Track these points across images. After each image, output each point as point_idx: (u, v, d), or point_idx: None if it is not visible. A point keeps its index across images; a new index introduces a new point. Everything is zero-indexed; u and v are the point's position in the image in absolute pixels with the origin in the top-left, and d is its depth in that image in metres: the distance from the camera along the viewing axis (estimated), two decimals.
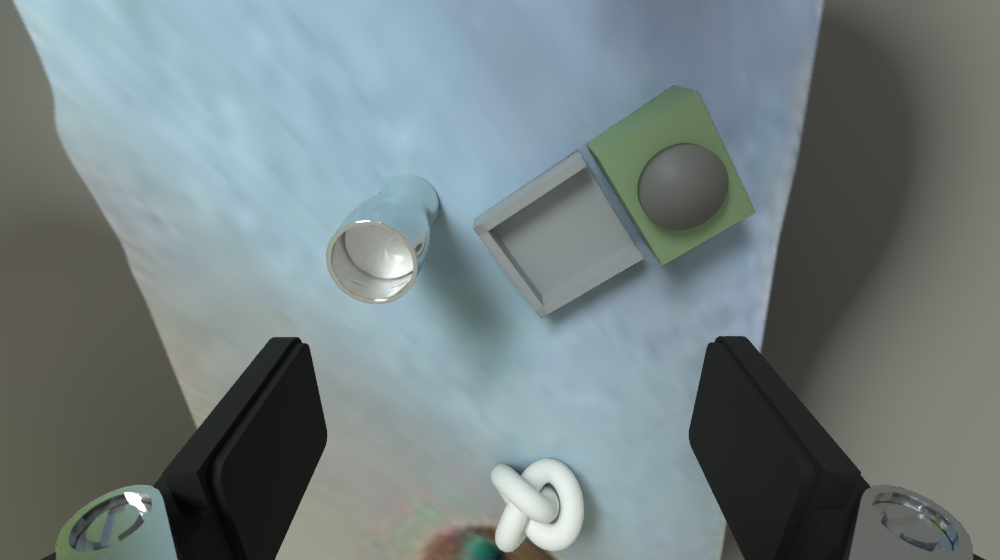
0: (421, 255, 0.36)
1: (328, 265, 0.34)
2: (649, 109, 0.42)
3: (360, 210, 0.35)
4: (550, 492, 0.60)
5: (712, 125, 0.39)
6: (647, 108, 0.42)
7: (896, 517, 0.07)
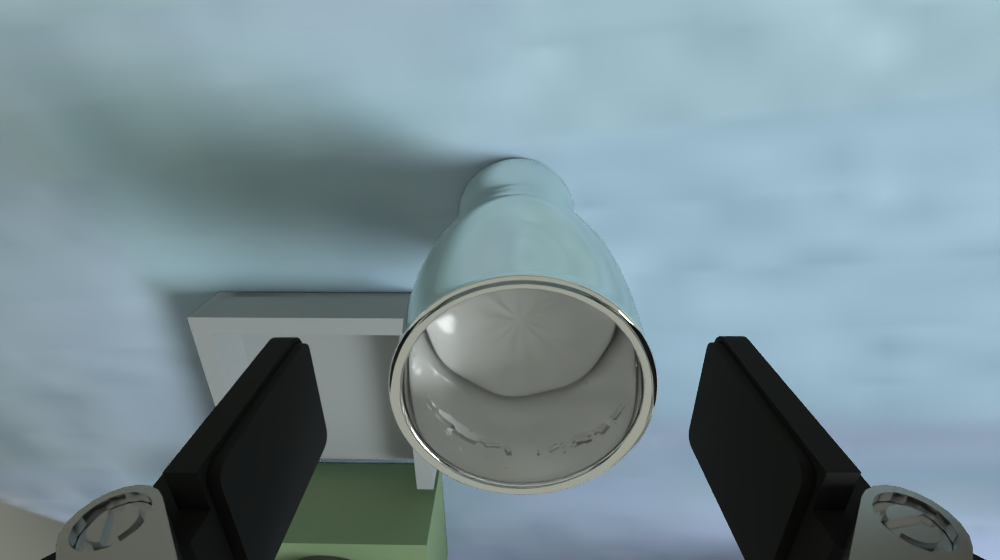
0: None
1: (601, 302, 0.10)
2: (440, 555, 0.33)
3: None
4: None
5: None
6: (442, 546, 0.34)
7: (896, 517, 0.07)
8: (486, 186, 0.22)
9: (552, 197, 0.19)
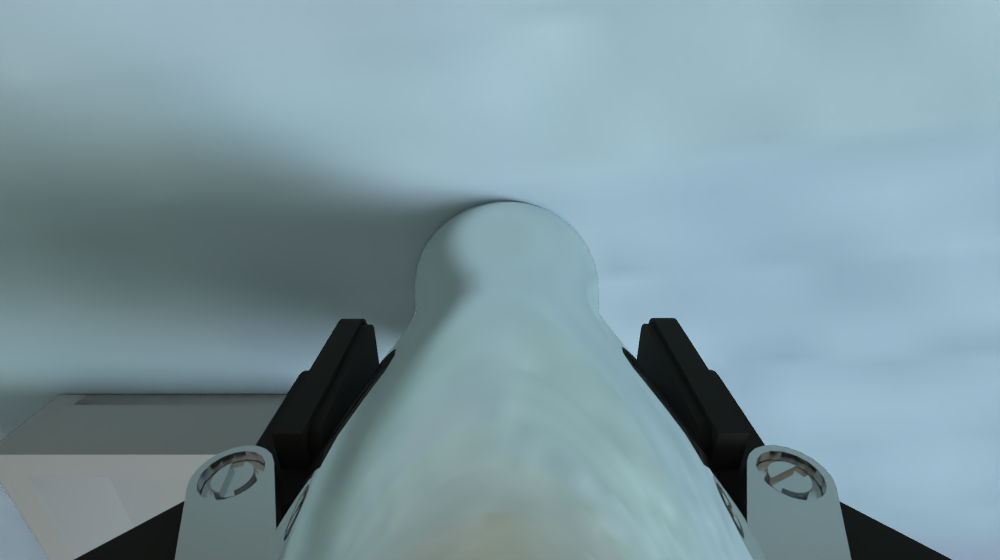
0: None
1: None
2: None
3: None
4: None
5: None
6: None
7: (775, 474, 0.07)
8: (453, 258, 0.13)
9: (573, 298, 0.10)
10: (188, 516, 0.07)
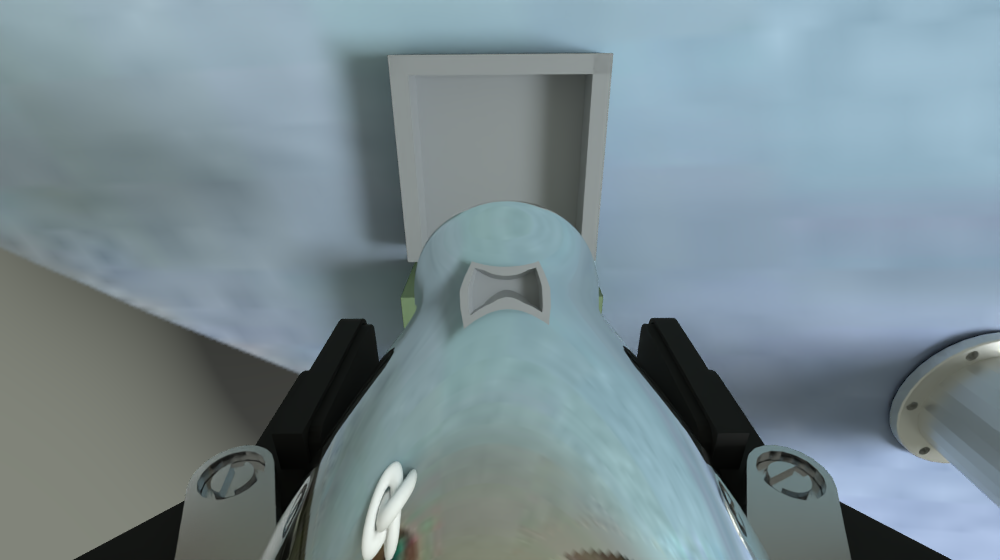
0: None
1: None
2: None
3: None
4: None
5: None
6: None
7: (775, 474, 0.07)
8: (453, 256, 0.13)
9: (572, 296, 0.10)
10: (188, 516, 0.07)
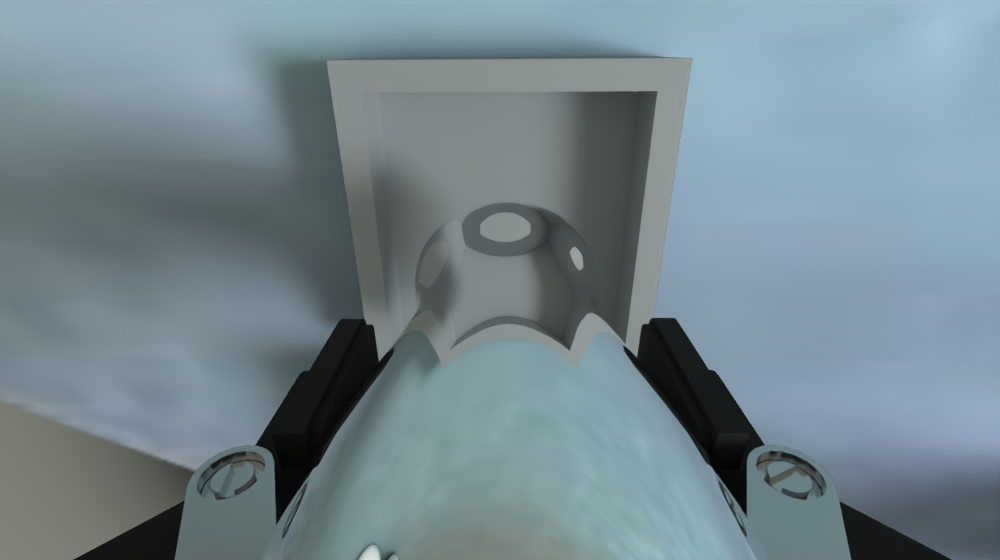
0: None
1: None
2: None
3: None
4: None
5: None
6: None
7: (775, 474, 0.07)
8: (453, 256, 0.13)
9: (572, 296, 0.10)
10: (188, 516, 0.07)
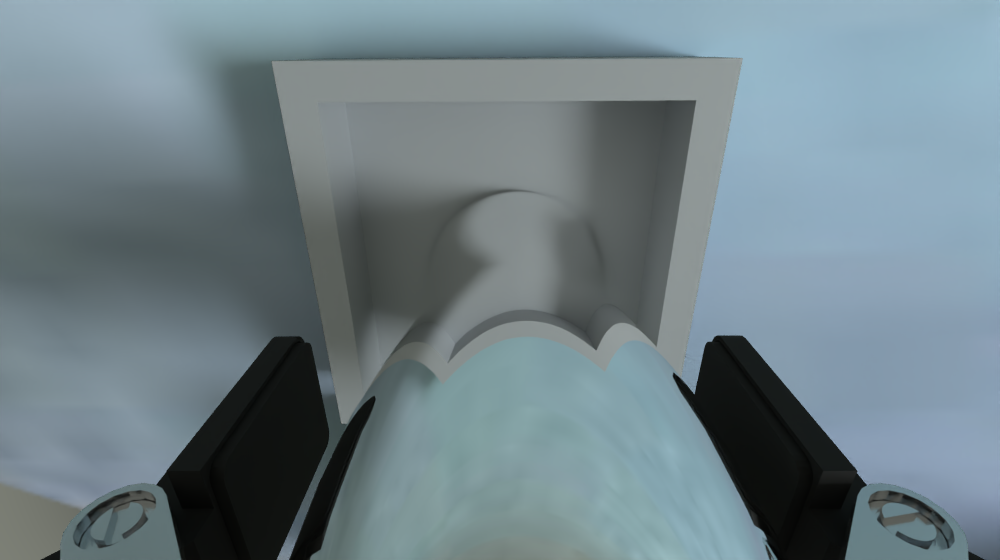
0: None
1: None
2: None
3: None
4: None
5: None
6: None
7: (891, 515, 0.07)
8: (469, 241, 0.14)
9: (579, 273, 0.11)
10: None
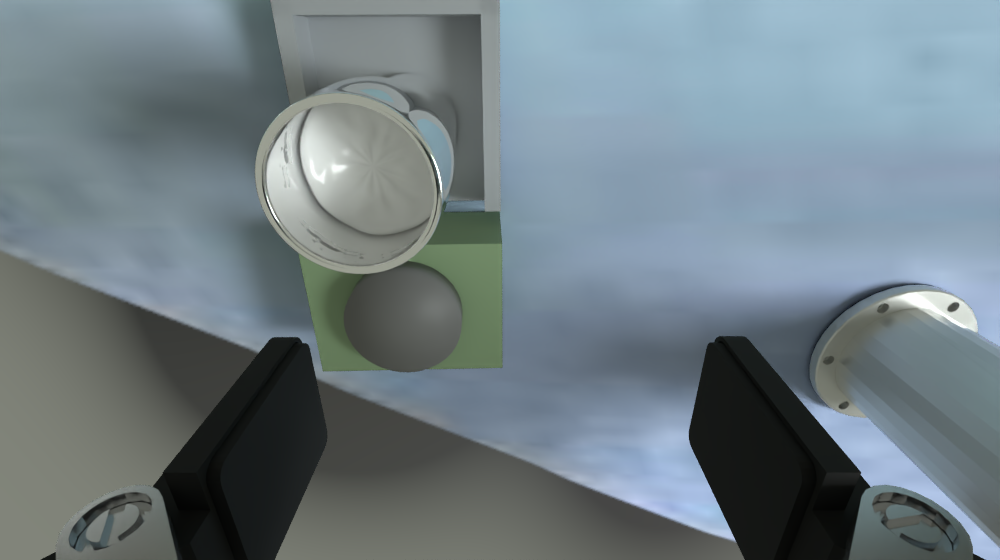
0: None
1: (390, 112, 0.16)
2: None
3: (448, 197, 0.20)
4: None
5: (456, 367, 0.32)
6: None
7: (896, 517, 0.07)
8: None
9: None
10: None
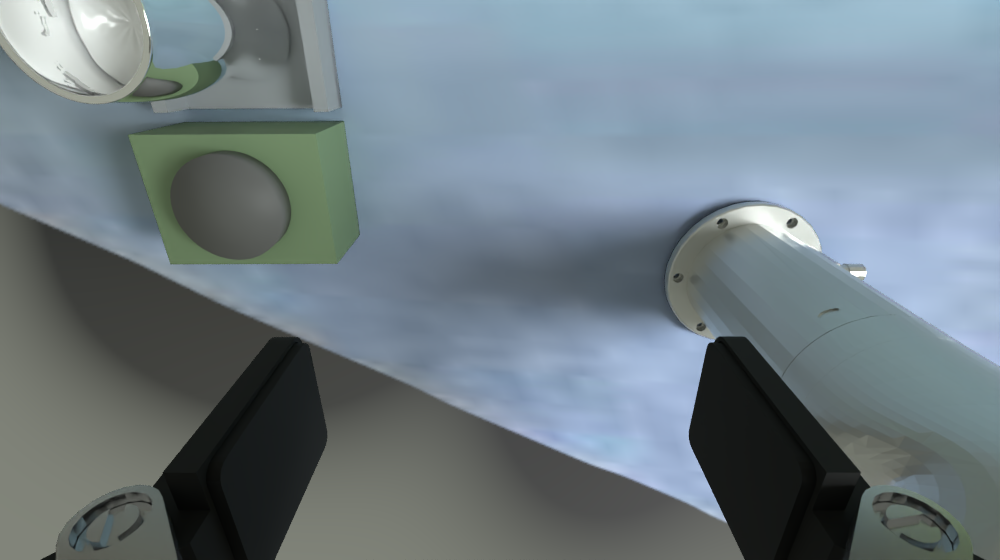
0: None
1: None
2: (345, 207, 0.36)
3: (188, 45, 0.22)
4: None
5: (293, 262, 0.34)
6: (348, 204, 0.37)
7: (896, 517, 0.07)
8: None
9: None
10: None
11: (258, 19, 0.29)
